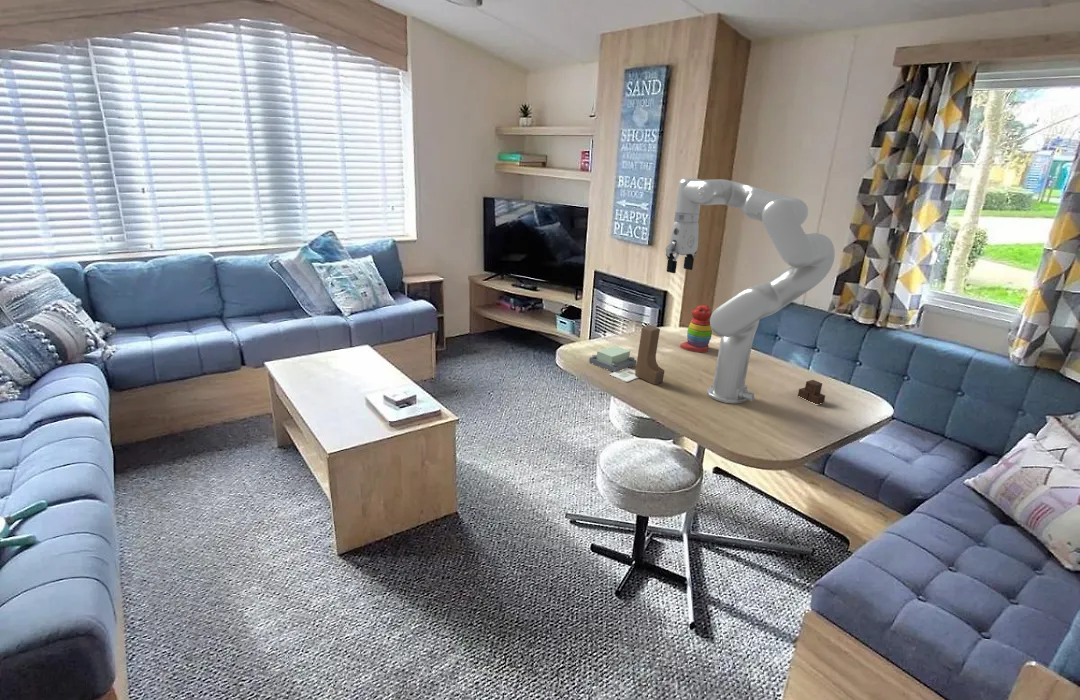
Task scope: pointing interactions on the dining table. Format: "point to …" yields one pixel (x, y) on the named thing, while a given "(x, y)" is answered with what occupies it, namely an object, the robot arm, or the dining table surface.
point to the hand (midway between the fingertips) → (679, 270)
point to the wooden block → (649, 356)
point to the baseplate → (614, 365)
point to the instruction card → (625, 375)
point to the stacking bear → (699, 330)
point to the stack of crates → (812, 392)
